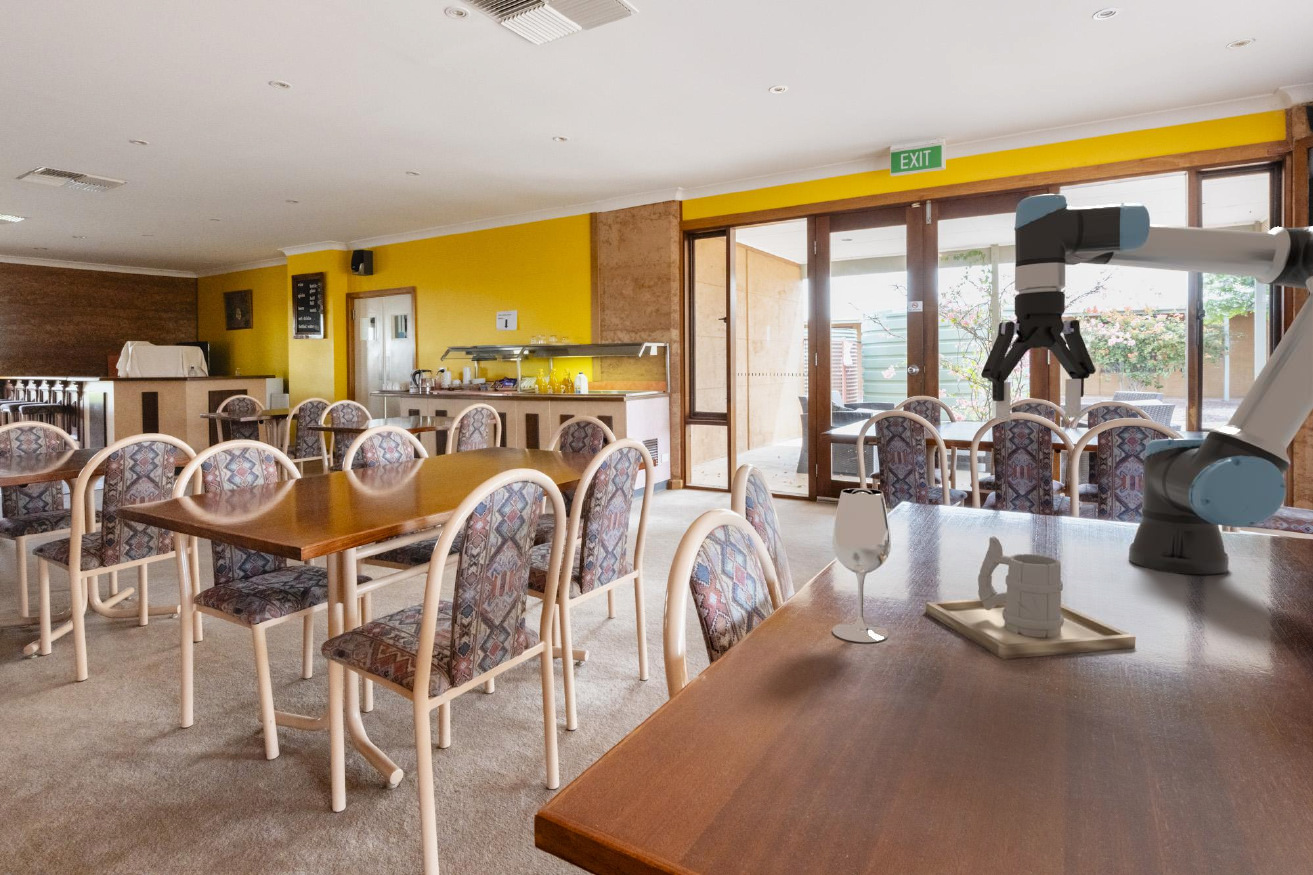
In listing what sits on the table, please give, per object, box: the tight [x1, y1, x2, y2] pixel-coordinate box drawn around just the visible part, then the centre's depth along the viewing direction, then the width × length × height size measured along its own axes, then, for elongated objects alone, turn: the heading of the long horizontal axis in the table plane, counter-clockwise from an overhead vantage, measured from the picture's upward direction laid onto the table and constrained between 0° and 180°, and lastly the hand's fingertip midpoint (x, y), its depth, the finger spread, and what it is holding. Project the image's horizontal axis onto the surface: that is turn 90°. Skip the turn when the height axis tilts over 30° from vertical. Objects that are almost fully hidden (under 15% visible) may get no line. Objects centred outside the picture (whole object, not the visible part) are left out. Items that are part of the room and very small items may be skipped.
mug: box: [977, 535, 1064, 638], centre depth 108 cm, size 8×12×12 cm, turn 39°
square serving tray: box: [925, 598, 1137, 660], centre depth 109 cm, size 19×19×2 cm
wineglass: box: [831, 487, 892, 644], centre depth 107 cm, size 8×8×20 cm
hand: (1038, 419), depth 131 cm, fingers open, 13 cm apart
